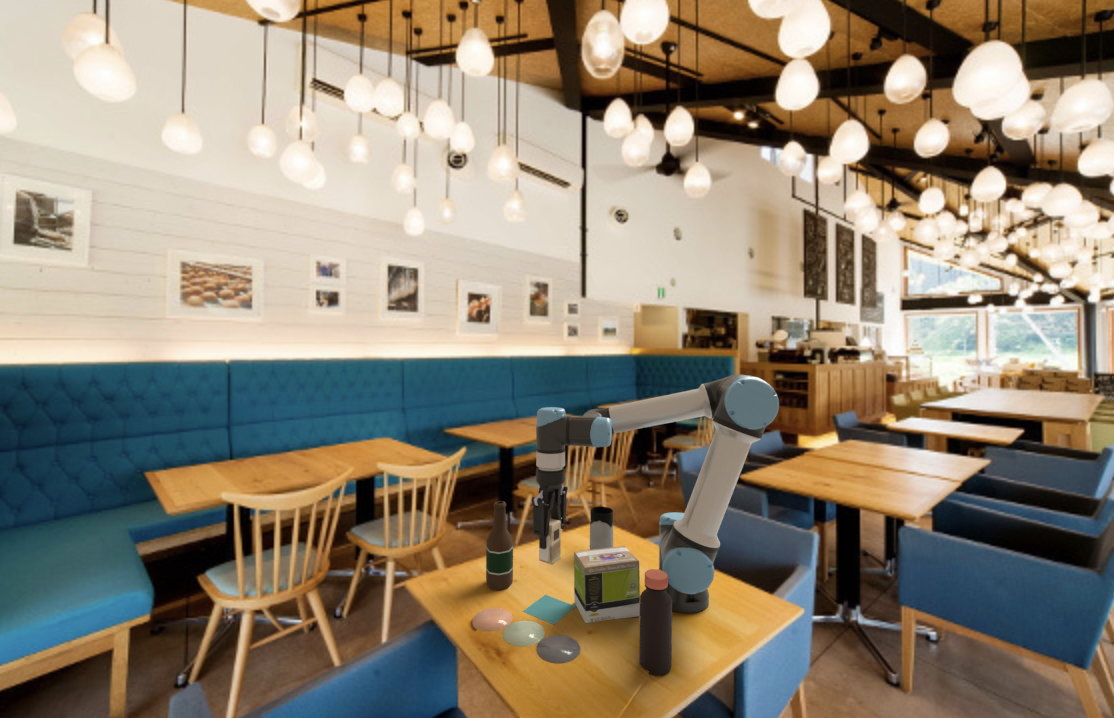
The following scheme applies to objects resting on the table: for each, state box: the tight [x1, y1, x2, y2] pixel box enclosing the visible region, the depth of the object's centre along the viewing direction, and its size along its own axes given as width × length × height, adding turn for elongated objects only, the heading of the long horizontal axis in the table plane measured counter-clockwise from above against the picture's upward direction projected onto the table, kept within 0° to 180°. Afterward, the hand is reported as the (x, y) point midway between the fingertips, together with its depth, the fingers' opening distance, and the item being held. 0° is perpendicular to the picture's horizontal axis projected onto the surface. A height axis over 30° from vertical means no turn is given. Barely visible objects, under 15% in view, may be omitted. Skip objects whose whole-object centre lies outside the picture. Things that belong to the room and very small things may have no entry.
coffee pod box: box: [573, 545, 641, 624], centre depth 121 cm, size 15×10×15 cm, turn 104°
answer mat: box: [522, 594, 576, 625], centre depth 120 cm, size 10×10×1 cm
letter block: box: [538, 517, 562, 565], centre depth 120 cm, size 4×4×10 cm
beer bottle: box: [485, 500, 514, 591], centre depth 134 cm, size 8×8×24 cm
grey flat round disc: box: [535, 634, 581, 664], centre depth 104 cm, size 10×10×1 cm
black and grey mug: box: [589, 506, 614, 550], centre depth 157 cm, size 9×14×15 cm, turn 164°
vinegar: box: [638, 568, 673, 677], centre depth 99 cm, size 7×7×20 cm
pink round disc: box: [471, 607, 514, 632], centre depth 116 cm, size 10×10×1 cm
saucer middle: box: [502, 620, 546, 647], centre depth 110 cm, size 10×10×1 cm
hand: (550, 556), depth 120 cm, fingers closed on letter block, 4 cm apart
